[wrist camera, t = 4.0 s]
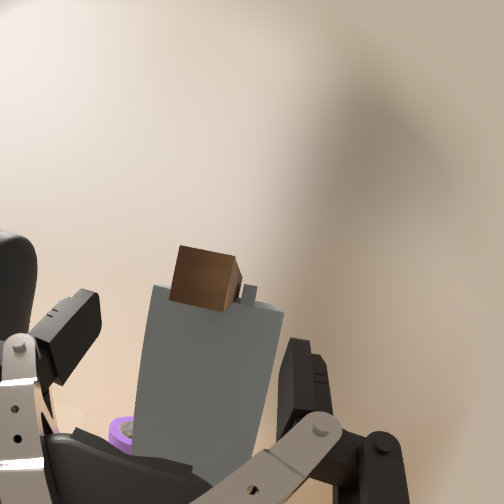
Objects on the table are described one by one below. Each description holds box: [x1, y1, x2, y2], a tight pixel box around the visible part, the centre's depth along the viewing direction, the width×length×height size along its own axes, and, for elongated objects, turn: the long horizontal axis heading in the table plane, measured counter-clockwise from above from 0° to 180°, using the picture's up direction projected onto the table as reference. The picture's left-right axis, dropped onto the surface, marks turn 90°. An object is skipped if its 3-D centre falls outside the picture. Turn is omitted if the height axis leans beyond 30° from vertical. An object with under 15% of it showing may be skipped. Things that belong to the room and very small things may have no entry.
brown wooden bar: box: [169, 245, 242, 312], centre depth 25 cm, size 2×24×2 cm, turn 2°
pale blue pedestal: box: [131, 284, 284, 487], centre depth 28 cm, size 12×16×34 cm
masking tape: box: [109, 417, 134, 455], centre depth 47 cm, size 12×12×4 cm
